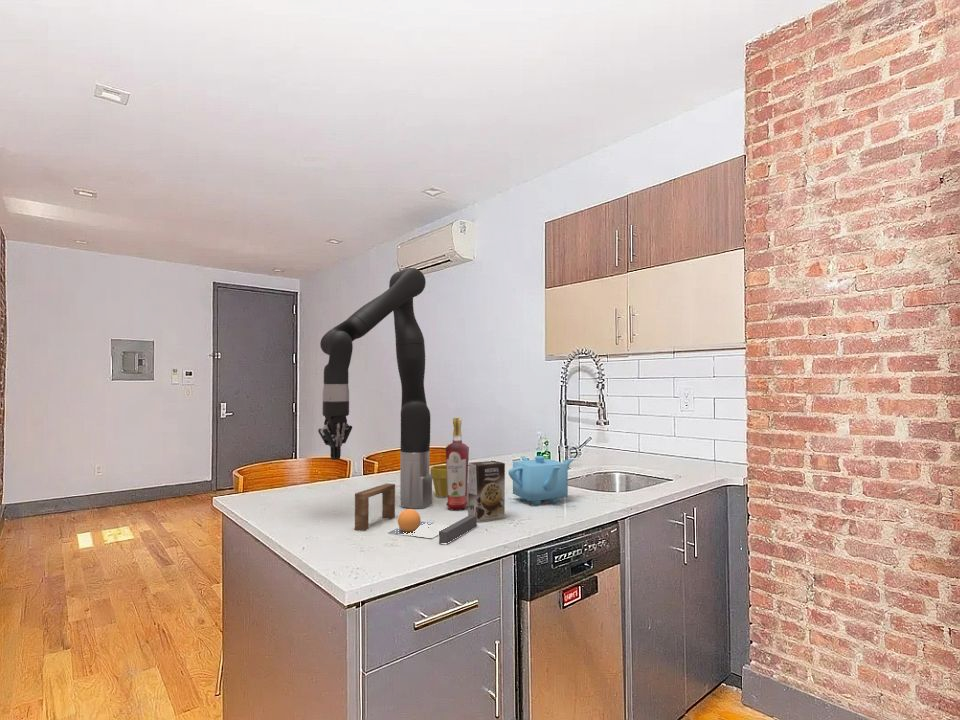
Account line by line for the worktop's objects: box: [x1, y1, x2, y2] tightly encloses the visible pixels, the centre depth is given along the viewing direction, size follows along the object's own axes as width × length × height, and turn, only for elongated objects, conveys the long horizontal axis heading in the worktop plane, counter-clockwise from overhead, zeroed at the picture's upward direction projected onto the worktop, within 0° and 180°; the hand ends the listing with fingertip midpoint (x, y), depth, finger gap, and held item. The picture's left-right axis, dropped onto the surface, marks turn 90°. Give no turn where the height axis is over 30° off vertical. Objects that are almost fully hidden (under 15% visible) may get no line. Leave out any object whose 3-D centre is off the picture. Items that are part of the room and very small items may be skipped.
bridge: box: [354, 483, 396, 532], centre depth 156 cm, size 3×15×10 cm, turn 156°
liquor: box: [445, 417, 470, 511], centre depth 174 cm, size 7×7×28 cm
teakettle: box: [508, 455, 575, 506], centre depth 184 cm, size 19×19×15 cm
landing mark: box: [387, 521, 434, 537], centre depth 150 cm, size 13×13×1 cm
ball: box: [397, 508, 422, 532], centre depth 148 cm, size 6×6×6 cm
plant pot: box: [430, 464, 448, 498], centre depth 192 cm, size 10×10×10 cm
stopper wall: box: [438, 515, 478, 544], centre depth 145 cm, size 2×18×3 cm, turn 156°
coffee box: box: [467, 460, 506, 523], centre depth 162 cm, size 9×6×16 cm
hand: (335, 459), depth 162 cm, fingers closed
